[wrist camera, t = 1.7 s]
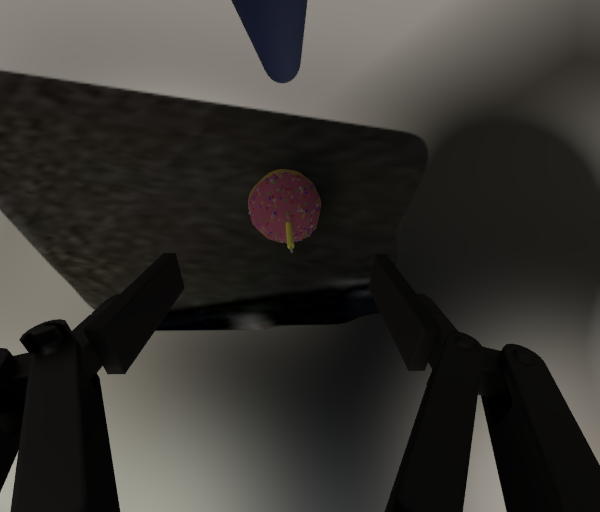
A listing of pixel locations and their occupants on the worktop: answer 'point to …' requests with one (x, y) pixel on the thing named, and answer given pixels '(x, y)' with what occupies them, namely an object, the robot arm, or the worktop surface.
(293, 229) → the cupcake
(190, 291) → the worktop surface
